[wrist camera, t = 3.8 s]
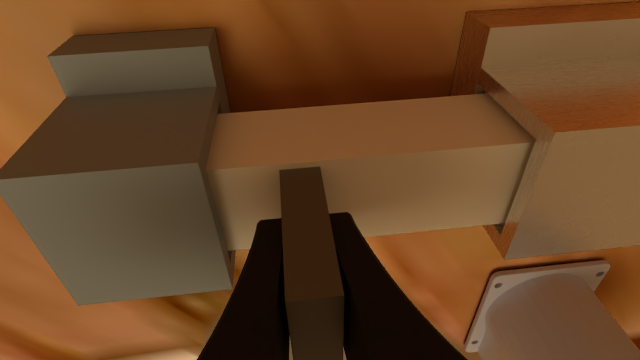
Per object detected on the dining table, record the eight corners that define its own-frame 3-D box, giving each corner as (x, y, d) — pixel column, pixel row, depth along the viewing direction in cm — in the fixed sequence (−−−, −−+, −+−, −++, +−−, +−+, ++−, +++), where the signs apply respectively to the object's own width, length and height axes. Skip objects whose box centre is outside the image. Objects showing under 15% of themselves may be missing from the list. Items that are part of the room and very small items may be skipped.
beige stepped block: (685, -2, 15) (898, 59, 10) (601, 162, 20) (716, 259, 15) (466, 12, 15) (574, 83, 10) (434, 177, 20) (494, 284, 14)
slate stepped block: (214, 27, 14) (184, 113, 9) (246, 194, 19) (239, 313, 14) (72, 36, 14) (-45, 130, 9) (142, 204, 19) (94, 329, 14)
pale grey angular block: (532, 88, 15) (732, 244, 8) (506, 164, 17) (650, 333, 10) (150, 117, 14) (51, 319, 7) (176, 193, 16) (116, 400, 9)
